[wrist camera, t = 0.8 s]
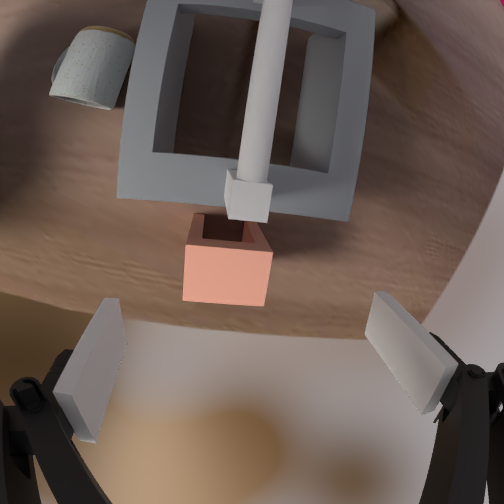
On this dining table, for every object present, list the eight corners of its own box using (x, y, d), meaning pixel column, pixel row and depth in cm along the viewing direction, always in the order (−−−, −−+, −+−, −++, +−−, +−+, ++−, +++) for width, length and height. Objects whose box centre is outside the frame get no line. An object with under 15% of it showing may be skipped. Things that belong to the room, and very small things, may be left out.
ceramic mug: (146, 47, 27) (128, 24, 19) (122, 113, 29) (96, 105, 22) (71, 39, 24) (42, 21, 17) (49, 100, 27) (14, 94, 20)
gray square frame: (148, 179, 32) (80, 220, 14) (173, 21, 26) (141, -75, 8) (305, 195, 35) (392, 250, 17) (327, 44, 29) (419, -18, 11)
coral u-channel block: (190, 255, 36) (182, 300, 25) (194, 213, 34) (185, 244, 24) (249, 260, 37) (263, 306, 26) (255, 219, 35) (273, 252, 25)
